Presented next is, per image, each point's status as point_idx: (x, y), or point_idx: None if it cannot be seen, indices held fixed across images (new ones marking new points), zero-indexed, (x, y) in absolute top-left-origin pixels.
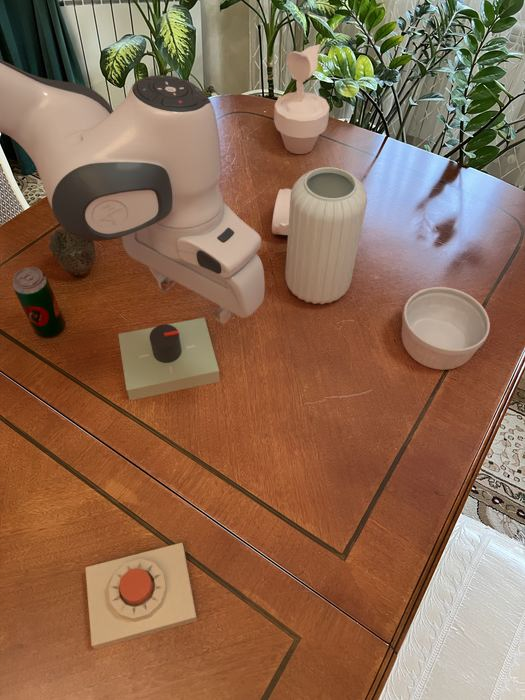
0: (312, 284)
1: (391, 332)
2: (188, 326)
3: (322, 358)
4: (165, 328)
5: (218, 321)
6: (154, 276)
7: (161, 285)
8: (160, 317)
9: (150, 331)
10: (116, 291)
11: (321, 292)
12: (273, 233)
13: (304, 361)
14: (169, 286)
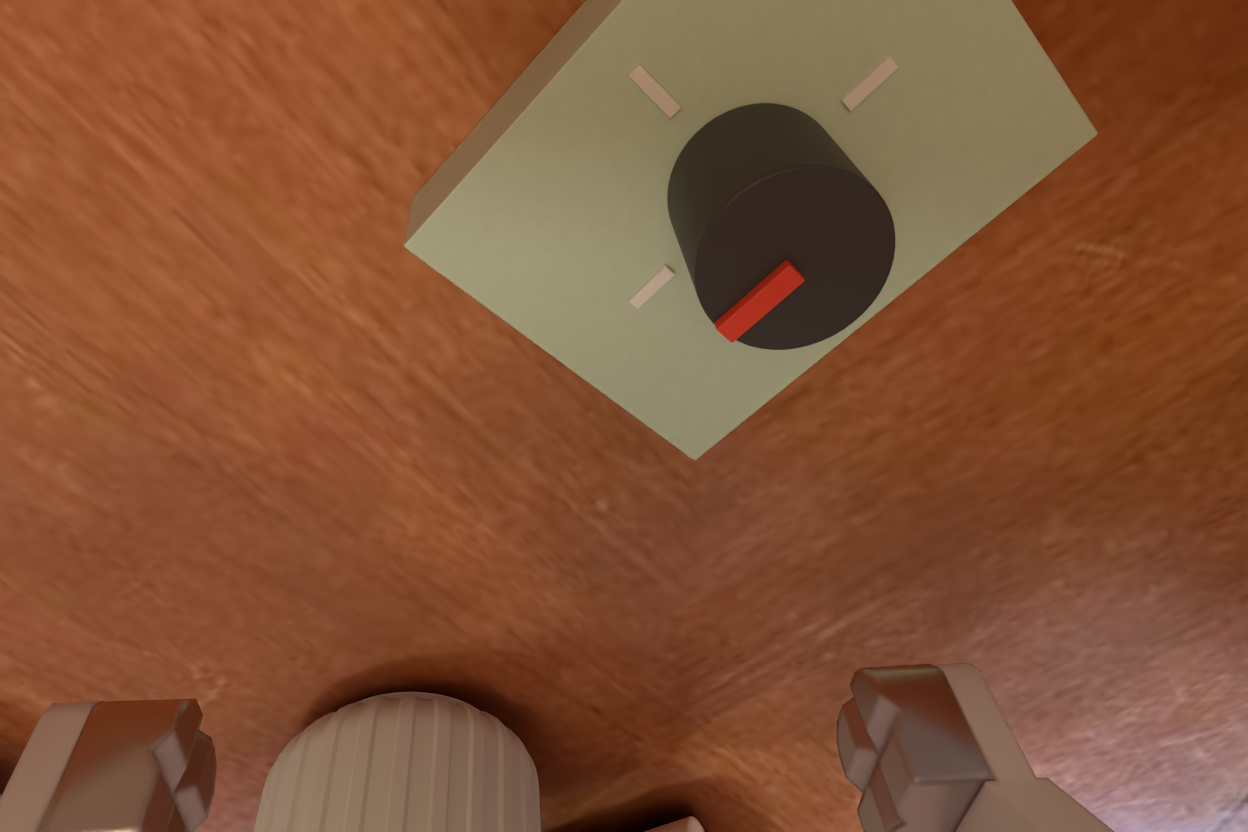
0: (335, 817)
1: (26, 740)
2: (738, 381)
3: (124, 544)
4: (818, 312)
5: (127, 703)
6: (1101, 829)
7: (966, 735)
8: (916, 344)
9: (917, 250)
10: (1190, 348)
11: (304, 788)
12: (683, 828)
13: (172, 496)
14: (880, 746)
